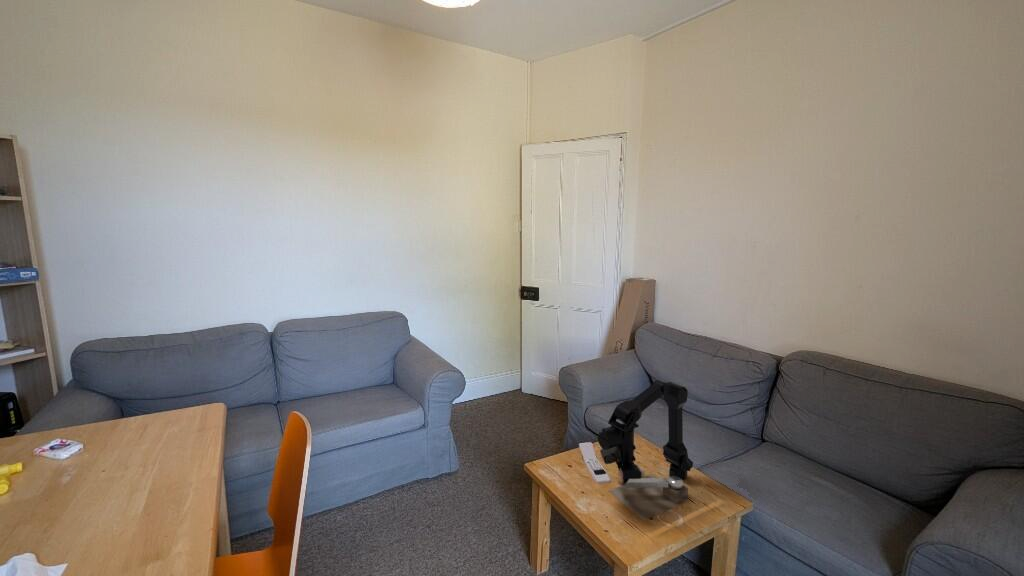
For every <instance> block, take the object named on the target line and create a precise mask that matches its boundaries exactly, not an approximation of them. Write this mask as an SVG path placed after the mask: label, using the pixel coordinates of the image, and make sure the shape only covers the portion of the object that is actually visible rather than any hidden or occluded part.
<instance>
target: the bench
mask: <svg viewBox="0 0 1024 576" xmlns="http://www.w3.org/2000/svg"><path fill="white" fill-rule="evenodd" d="M644 478H658V476H656V475H655V474H653V473H650V474H648V475H645V477H644ZM607 491H608V493H610V494H611V495H612V496H613V497H614V498H616V499H617V500H618V501H619V502H620V503H622V505H624V506H625V507H626V508H627V509H629V510H630V511H631V512H632V513H633V514H635V515H636V516H637V517H638V518H640V520H642V521H643V522H645V521H647V520H650V519H651V518H654V517H656V516H658V515H660V514H662V513H665V512H667V511H668V510H671V509H673V508H675V507H679V505H680V506H681V505H682V504H685V503H687V502H688V501H690V499H689V498H688V497H689V495H688V493H689V487H688V486H686V485H684V484H683V488H682V489H680V490H676V489H672V488H671V487H669V486H668V487H652V488H620V486H619V485H618V486H617V487H614V488H612V489H609V490H607Z"/></svg>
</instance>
